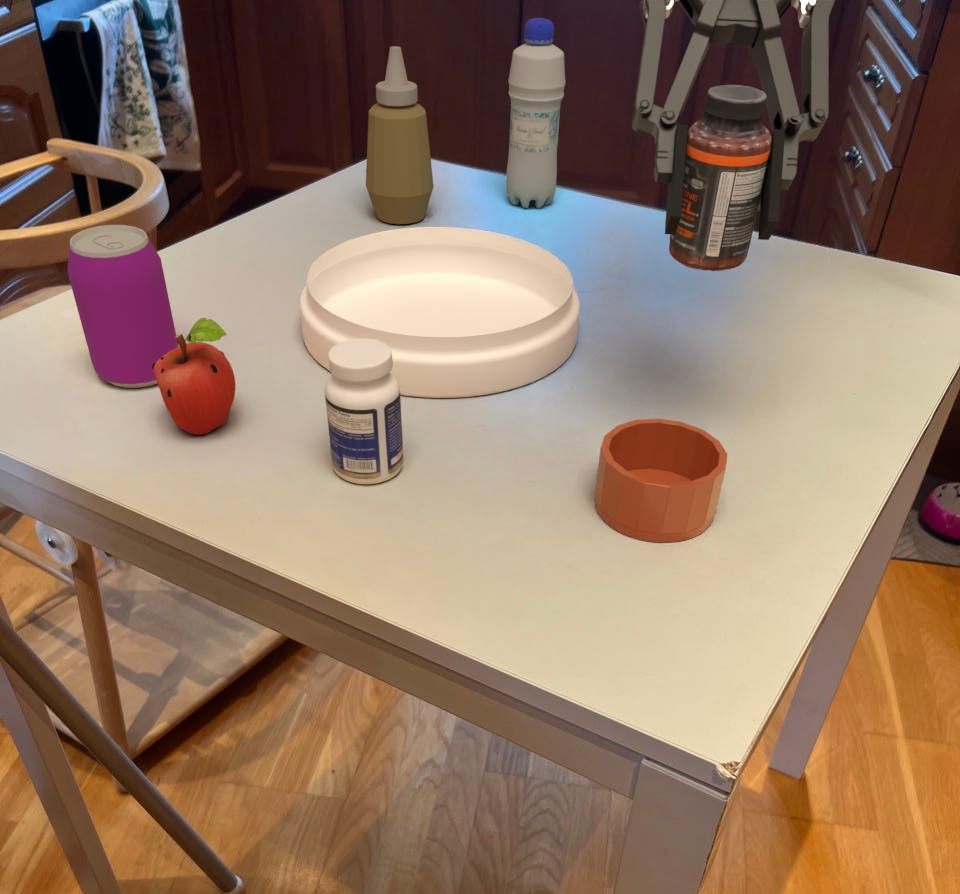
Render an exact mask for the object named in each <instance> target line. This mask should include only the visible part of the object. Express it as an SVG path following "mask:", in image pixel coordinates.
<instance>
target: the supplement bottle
mask: <svg viewBox="0 0 960 894" xmlns="http://www.w3.org/2000/svg"><path fill="white" fill-rule="evenodd" d="M766 99H767V95H766V94H765V92H763V91H762V89H761V90H760V89H758V88H756V87H753V86H748V85H742V84H722V85H715V86H713V87H710V88H709V89H708V91H707V93H706V98H705V104H704V108H703V110H704V113H703V115H702V116H701V118H700V119H699V120H697V121H695V122H694V123H693V124H692V125H691V126H690V127H688V132H687V146H686V160H685V174H684V187H683V201H682V215H681V220H680V222H679V225H678V228H677V231H676V234H675V235H670V234H669V244H668V251H669V254H670V256H671V257H672V259H674V260H675V261H676V262H678V263H679V264H681V265H683V266H685V267H687V268H690V269H696V270H701V271H710V272H721V271H722V272H723V271H727V270H732V269H735V268H738V267H740V266H741V265H742V264H743V263H744V262H746V259H747V257H748V254H749V250H750V247H751V246H750V245H751V243H752V239H753V232H754V227H755V223H756V219H757V213H758V209H759V207H760V206H759V205H760V202H761V192H762V187H763V182H764V178H765V173H766V168H767V164H768V158H769V154H770V149H771V142H772V139H771V135H772V134H771V133H770V131H769V129H768V128H767V127H766V126H765V125H764V124H763V122H762V118H763V117H764V116H765V111H766Z"/></svg>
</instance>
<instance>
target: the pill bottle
mask: <svg viewBox="0 0 960 894" xmlns="http://www.w3.org/2000/svg"><path fill="white" fill-rule="evenodd" d="M328 358H329V368H330V371H329V372H330V373H331V375H330V376H329V378H327V381H326V382H325V386H324V400H325V409H326V417H327V427H328V436H329V437H328V438H329V444H330V445H329V446H330V455H331V463H332V468H333V470H334V472H335V473H336V475H337V476H339V477H340V478H341V479H343V480H345V481H347V482H350V483H352V484H358V485H374V484H379V483H383V482H386V481H388V480H390V479H392V478H394V477H395V476H396V475H398V473H400V471H401V470H402V468H403V464H404V443H403V442H404V441H403V423H402V400H401V395H400V386H399V383H398V380H397V379H396V377H395V376H394V375H393V374H392V373H391V372H390V371H391V370H392V367H393V362H392V352H391V349H390V347H389V346H388V345H387V344H385V343H383V342H381V341H378V340H374V339H364V338H362V339H351V340H346V341H343V342H341V343H338V344H336V345H335V346H333V347H332V348H331V349H330V351H329V354H328Z"/></svg>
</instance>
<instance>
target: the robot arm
mask: <svg viewBox="0 0 960 894" xmlns="http://www.w3.org/2000/svg"><path fill="white" fill-rule="evenodd" d="M677 2H679V4H680V6H681V7H682V9H683V11H684V12H685V13H686V15H687V16H688V18H689V20H690V21H691V23H692V24H693V26H694V29H693V33H692V35H691V38H690V40H689V42H688V46H687V47H686V50H685V52H684V55H683V58H682V60H681V63H680V65H679V67H678V70H677V73H676V76H675V77H674V80H673V82H672V85H671V88H670V89H669V93H668V95H667V98H666V100H665V103H664V105H663V107H662V106H660V105H656V104H654V101H655V95H656V94H655V93H656V87H657V79H658V73H659V72H658V71H659V67H660V65H659V64H660V58H661V50H662V45H663V44H662V43H663V37H664V30H665V24H666V23H665V22H666V19H668V18H669V17H670V16H671V15H672V11H673V8H674V5H675V3H677ZM835 2H836V0H640V2H639V11H640V16H641V20H642V25H643V30H644V33H643V40H642V47H641V55H640V62H639V69H638V75H637V83H636V89H635V90H636V91H635V98H634V105H633V111H632V119H631V128H632V130H633V131H635V132H636V133H644V132H645V133H648V134H649V135H652V136H653V138H654V144H655V153H654V166H653V179H654V181H655V183H656V184H667V196H666V211H665V224H664V235H669V236H670V235H675V234H676V231H677V228H678V225H679V222H680V220H681V215H682V201H683V187H684V174H685V160H686V146H687V133H688V130H689V125H688V124H680V123H679V121H680V119H681V117H682V114H683V111H684V109H685V106H686V104H687V101H688V99H689V96H690V94H691V91H692V89H693V86H694V84H695V82H696V79H697V76H698V74H699V72H700V69H701V66H702V65H703V62H704V59H705V57H706V55H707V53H708V50H709V48H710V45H723V44H724V45H725V44H728V43H729V44H730V43H734V44H736V45H739V46H742V47H743V46H744V47H748V49H749V53H750V57H751V60H752V62H753V63H755V66H756V70H757V75H758V79H759V82H760V87H761V91H763V92H765V94H766V95H767V99H766V104H765V108H766V110H767V115H768V118H769V122H770V126H771V130H772V133H771V134H770V135H771V139H772V142H771V149H770V154H769V158H768V164H767V168H766V173H765V178H764V182H763V187H762V192H761V196H760V204H759V205H760V206H759V207H760V208H759V219H758V220H759V221H758V237H757V240H759V241H760V240H761V241H769V240H770V238H771V237H772V235H773V234H774V232H775V230H776V228H777V226H778V225H779V222H780V211H781V198H782V197H781V195H782V194H781V193H782V191H788V190H789V188H790V187H791V185H792V183H793V182H794V180H795V178H796V177H797V173H798V161H799V160H798V159H799V146H800V145H799V144H800V143H801V142H803V141H805V142H809V143H810V142H811V143H812V142H814V141H816V139H817V138H818V137H819V135H820V133H821V132H822V129H823V127H824V125H825V124H826V122H827V120H828V119H829V115H830V15H831V12H832V11H833V7H834V4H835ZM791 7H793V8H795V10H796V11H797V21H798V27H799V28H801V29H803V32H802V37H801V44H800V45H801V47H800V63H801V64H800V107H799V104H798V99H797V95H796V91H795V88H794V83H793V80H792V76H791V71H790V68H789V63H788V59H787V55H786V51H785V47H784V44H783V39H782V24H781V19H782V18H783V17H784V15H785V14H786V13H787V12H788V10H789V9H790V8H791Z"/></svg>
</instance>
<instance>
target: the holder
mask: <svg viewBox="0 0 960 894" xmlns="http://www.w3.org/2000/svg"><path fill="white" fill-rule="evenodd" d="M598 457H599V458H598V467H597V474H596V482H595V489H594V506H595V510H596V512H597V514H598V516H599V517H600V519H601V520H602V521H603V522H605V524H606V525H607V526H609V527H610V528H612V529H613V530H615V531H617V532H618V533H620V534H622V535H624V536H627V537H630V538H634V539H636V540H640V541H644V542H651V543H662V544H663V543H666V544H667V543H678V542H683V541H687V540H691V539H693V538H696V537H698V536H699V535H701V534H703V533H704V532H705V531H707V530H708V528H710V526H711V525H712V523H713V521H714V518H715V515H716V512H717V507H718V503H719V499H720V494H721V490H722V486H723V483H724V478H725V473H726V471H727V470H726V469H727V464H728V453H727V451H726V449H725V448H724V446H723V444H722V443H721V441H720V440H719V439H717V438H716V437H714V436H713V435H712V434H710V433H709V432H707V431H706V430H704V429H702V428H700V427H698V426H694V425H691V424H688V423H686V422H684V421H683V422H682V421H679V420H672V419H671V420H670V419H665V418H642V419H641V418H640V419H634V420H630V421H628V422H627V421H626V422H623V423H621V424H617V425H616V426H615V427H613V428H612V429H611V430H610V431H608V432H607V433H606V434H605V435H603V439H602V443H601V446H600V451H599V456H598Z"/></svg>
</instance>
